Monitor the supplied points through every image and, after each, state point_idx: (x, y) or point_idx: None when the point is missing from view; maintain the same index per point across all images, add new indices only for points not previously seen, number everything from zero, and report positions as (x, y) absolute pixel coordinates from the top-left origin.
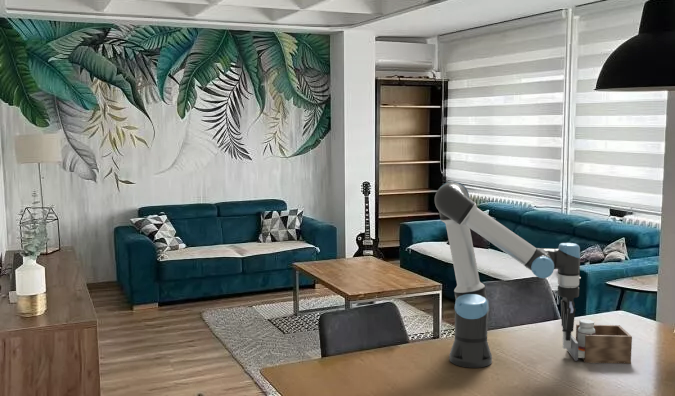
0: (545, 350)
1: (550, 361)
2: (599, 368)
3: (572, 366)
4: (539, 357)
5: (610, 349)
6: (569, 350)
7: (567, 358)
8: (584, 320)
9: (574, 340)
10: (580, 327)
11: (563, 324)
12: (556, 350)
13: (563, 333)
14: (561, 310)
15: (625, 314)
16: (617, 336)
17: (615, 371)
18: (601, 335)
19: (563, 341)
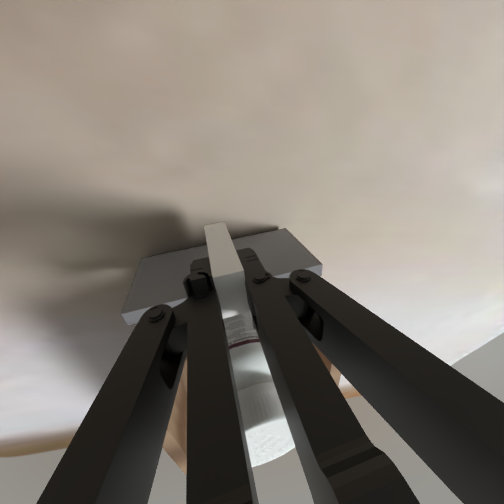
0: (275, 134)
1: (96, 143)
2: (103, 327)
3: (70, 246)
4: (145, 78)
5: None
6: (240, 243)
7: (182, 228)
8: (282, 433)
9: (178, 304)
10: (247, 376)
11: (260, 302)
12: (280, 187)
13: (223, 263)
14: (454, 385)
15: (498, 332)
16: (179, 465)
17: (96, 363)
18: (165, 437)
19: (211, 239)
